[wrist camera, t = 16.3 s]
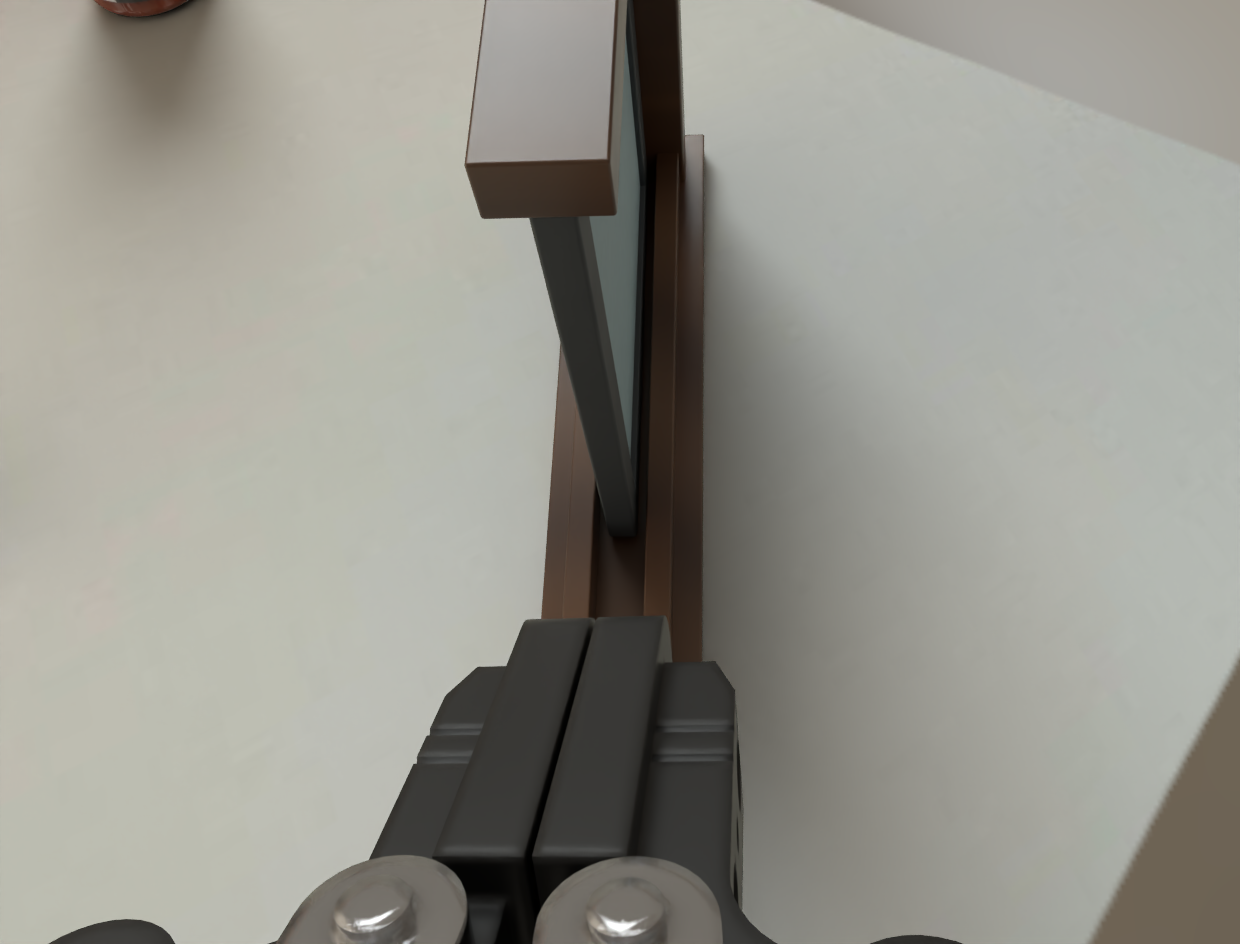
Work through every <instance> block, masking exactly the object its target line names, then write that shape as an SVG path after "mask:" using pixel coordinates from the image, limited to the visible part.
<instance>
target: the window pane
mask: <svg viewBox="0 0 1240 944" xmlns="http://www.w3.org/2000/svg"><path fill="white" fill-rule="evenodd" d="M647 210H648V172H647V160H646V148H645V137H644V125H643V113H642V101H641V89H640V78H639V66H638V54H637V42H636V30H635V19H634V7H633V0H627V15H626V36H625V58H624V79H623V101H622V123H621V144H620V166H619V188H618V209H617V214H616V215H615V216H583V217H539V218H529V219H530V223H531V227H532V231H533V234H534V238H535V242H536V246H537V250H538V254H539V258H540V262H541V266H542V270H543V274H544V278H545V282H546V286H547V290H548V294H549V298H550V302H551V306H552V310H553V314H554V318H555V322H556V326H557V330H558V334H559V338H560V342H561V346H562V350H563V354H564V358H565V361H566V365H567V369H568V373H569V377H570V381H571V385H572V389H573V393H574V397H575V401H576V405H577V409H578V413H579V417H580V421H581V425H582V429H583V433H584V437H585V441H586V445H587V449H588V453H589V457H590V461H591V465H592V469H593V473H594V477H595V481H596V485H597V488H598V492H599V496H600V500H601V504H602V508H603V512H604V516H605V520H606V524H607V528H608V532H609V535H610V536H612V537H635V536H636V535H637V528H638V496H639V464H640V432H641V401H642V369H643V337H644V305H645V273H646V242H647Z"/></svg>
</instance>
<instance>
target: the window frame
mask: <svg viewBox="0 0 1240 944" xmlns="http://www.w3.org/2000/svg"><path fill="white" fill-rule="evenodd" d="M633 7H634V19H635V30H636V42H637V54H638V66H639V78H640V89H641V101H642V113H643V125H644V137H645V148H646V160H647V172H648V210H647V242H646V273H645V305H644V337H643V369H642V401H641V432H640V464H639V496H638V528H637V535H636V536H635V537H612V536H610V535H609V532H608V528H607V524H606V520H605V516H604V512H603V508H602V504H601V500H600V496H599V492H598V488H597V485H596V481H595V477H594V473H593V469H592V465H591V461H590V457H589V453H588V449H587V445H586V441H585V437H584V433H583V429H582V425H581V421H580V417H579V413H578V409H577V405H576V401H575V397H574V393H573V389H572V385H571V381H570V377H569V373H568V369H567V365H566V361H565V358H564V354H563V350H562V346H561V344H560V358H559V372H558V387H557V401H556V415H555V430H554V444H553V458H552V473H551V487H550V501H549V516H548V530H547V544H546V559H545V573H544V587H543V602H542V616H541V619H565V618H594V619H595V620H596V619H597V618H598V617H626V616H660V615H665V616H666V617H667V621H668V625H669V632H670V641H671V651H672V662H702V596H703V318H704V135H685V125H684V96H683V68H682V39H681V11H680V0H633ZM626 15H627V0H485V5H484V13H483V21H482V29H481V37H480V45H479V53H478V61H477V69H476V77H475V85H474V93H473V101H472V109H471V117H470V125H469V133H468V141H467V149H466V157H465V168H466V172H467V175H468V178H469V181H470V184H471V187H472V190H473V194H474V197H475V200H476V203H477V206H478V209H479V212H480V215H481V217H482V218H483V219H495V218H539V217H583V216H615V215H616V214H617V209H618V188H619V166H620V144H621V123H622V101H623V79H624V58H625V36H626Z"/></svg>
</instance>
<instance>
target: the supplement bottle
mask: <svg viewBox="0 0 1240 944" xmlns="http://www.w3.org/2000/svg"><path fill="white" fill-rule="evenodd" d="M95 1H96V2H97V3H98V4H99V5H100V6H102V7H103V8H105V9H107V10H109V11H111V12H113V13H116V14H119V15H124V16H132V17H139V16H151V15H155V14H160V13H163V12H166V11H169V10H172V9H174V8H176V7H178V6H180V5H181V4H183V3H185V2H186V1H188V0H95Z"/></svg>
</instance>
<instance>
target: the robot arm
mask: <svg viewBox="0 0 1240 944" xmlns="http://www.w3.org/2000/svg"><path fill="white" fill-rule="evenodd" d="M742 880H743V796H742V782H741V768H740V754H739V740H738V726H737V712H736V698H735V690H734V688H733V687H732V685H731V684H730V682H729V681H728V679H727V678H726V676H725V675H724V673H723V672H722V670H721V669H720V667H719V666H718V664H717V663H716V662H715V661H712V662H672V651H671V641H670V632H669V625H668V621H667V617H666V616H665V615H660V616H626V617H598V618H597V619H596V620H595V619H594V618H565V619H530V620H526V621H525V622H524V623H523V625H522V628H521V630H520V633H519V635H518V638H517V640H516V643H515V646H514V648H513V651H512V653H511V656H510V658H509V661H508V663H507V666H498V667H477V668H476V669H475V670H474V671H473V672H471V673H470V674H469V675H468V676H467V677H466V678H465V679H464V680H462V681H461V682H460V683H459V684H458V685H457V686H456V687H455V688H454V689H452V690H451V691H450V692H449V693H448V694H447V695H446V696H445V698H444V700H443V702H442V704H441V706H440V708H439V711H438V713H437V715H436V717H435V719H434V721H433V724H432V726H431V728H430V736H426V739H425V741H424V743H423V745H422V747H421V749H420V751H419V754H418V756H417V764H413V766H412V769H411V771H410V773H409V775H408V777H407V779H406V781H405V784H404V786H403V788H402V790H401V792H400V794H399V796H398V799H397V801H396V803H395V805H394V807H393V809H392V811H391V814H390V816H389V818H388V820H387V822H386V824H385V826H384V829H383V831H382V833H381V835H380V837H379V839H378V841H377V844H376V846H375V848H374V850H373V852H372V854H371V856H370V859H369V860H368V861H365V862H362V863H359V864H356V865H354V866H351V867H349V868H347V869H345V870H343V871H341V872H339V873H338V874H336V875H334V876H333V877H331V878H330V879H328V880H327V881H325V882H324V883H323V884H321V885H320V886H319V887H318V888H316V889H315V890H314V891H313V892H312V893H311V894H310V895H309V896H308V897H307V898H306V899H305V900H304V901H303V902H302V904H301V905H300V907H299V908H298V909H297V911H296V912H295V913H294V915H293V917H292V918H291V920H290V922H289V923H288V925H287V926H286V928H285V930H284V931H283V933H282V935H281V936H280V938H279V939H278V941H275V942H272V943H269V944H777V943H775V942H773V941H772V940H771V939H769V938H768V937H766V936H765V935H764V934H762V933H761V932H760V931H759V930H758V929H757V928H756V927H754V926H753V925H752V924H751V923H750V922H749V920H748V919H747V918H746V916H745V915H744V914H743V912H742ZM49 944H175V943H174V941H173V939H172V938H171V936H170V935H169V934H168V933H167V932H166V931H165V930H164V929H163V928H161V927H159V926H157V925H155V924H153V923H150V922H146V921H142V920H131V919H124V920H112V921H107V922H102V923H97V924H94V925H90V926H87V927H84V928H81V929H78V930H76V931H74V932H71V933H69V934H67V935H64V936H62V937H60V938H58V939H56V940H55V941H53V942H51V943H49ZM871 944H962V943H959V942H957V941H953V940H948V939H944V938H940V937H933V936H924V935H905V936H897V937H891V938H886V939H883V940H880V941H877V942H874V943H871Z"/></svg>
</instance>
